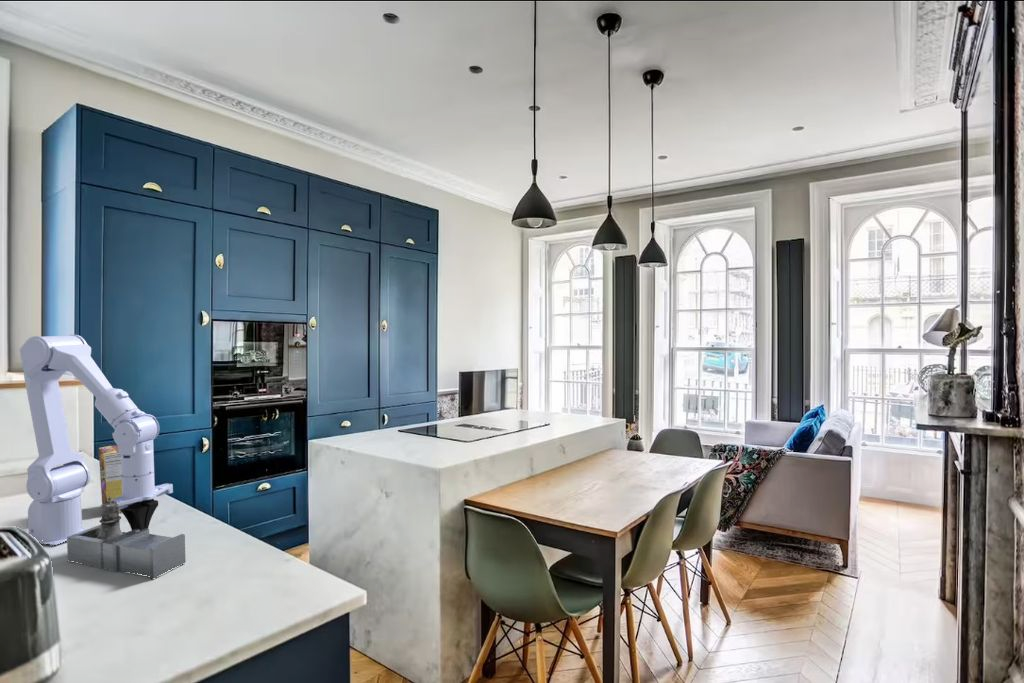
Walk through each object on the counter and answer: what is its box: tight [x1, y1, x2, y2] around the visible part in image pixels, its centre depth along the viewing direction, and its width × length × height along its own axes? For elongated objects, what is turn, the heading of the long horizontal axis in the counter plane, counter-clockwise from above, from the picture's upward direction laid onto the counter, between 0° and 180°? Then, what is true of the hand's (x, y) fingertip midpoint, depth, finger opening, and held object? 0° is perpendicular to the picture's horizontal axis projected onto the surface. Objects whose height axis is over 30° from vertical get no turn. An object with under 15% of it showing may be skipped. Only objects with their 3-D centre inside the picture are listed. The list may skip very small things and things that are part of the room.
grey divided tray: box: [66, 524, 187, 579], centre depth 108 cm, size 23×7×6 cm, turn 73°
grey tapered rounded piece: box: [97, 497, 127, 540], centre depth 111 cm, size 6×6×12 cm
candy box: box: [98, 444, 123, 514], centre depth 137 cm, size 9×4×15 cm, turn 44°
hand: (140, 536), depth 117 cm, fingers closed
